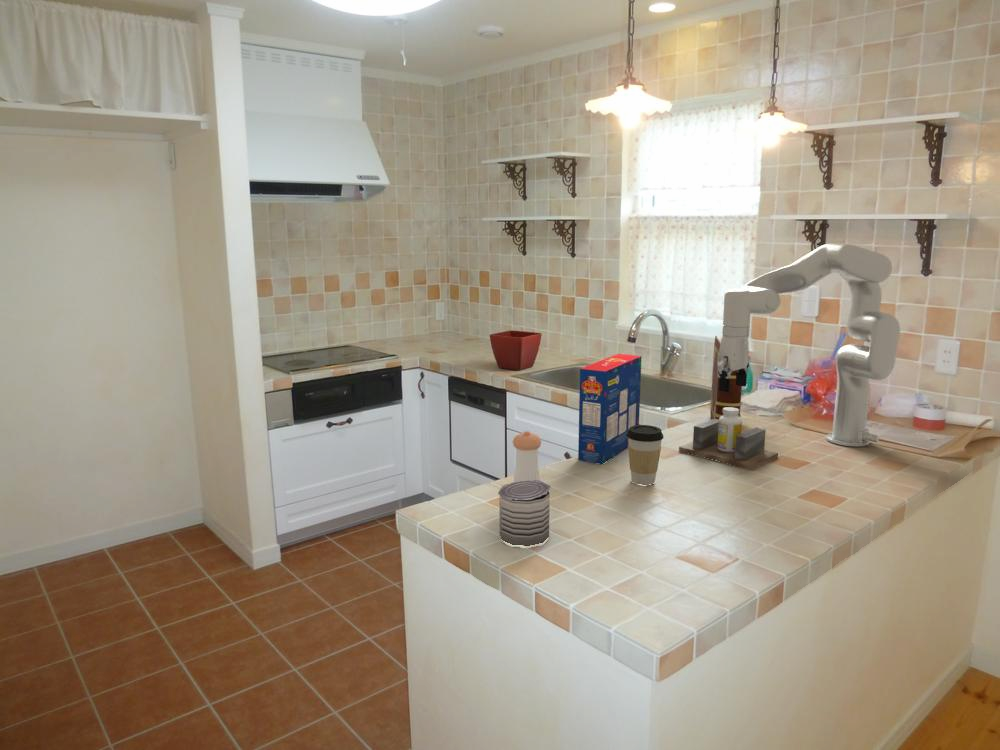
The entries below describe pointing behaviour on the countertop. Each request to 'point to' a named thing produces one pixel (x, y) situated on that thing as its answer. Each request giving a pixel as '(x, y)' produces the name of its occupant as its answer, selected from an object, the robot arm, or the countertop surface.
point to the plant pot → (515, 349)
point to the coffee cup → (644, 452)
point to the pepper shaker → (526, 456)
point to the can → (524, 512)
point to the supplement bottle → (729, 429)
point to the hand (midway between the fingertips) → (732, 388)
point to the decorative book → (720, 397)
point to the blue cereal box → (608, 406)
